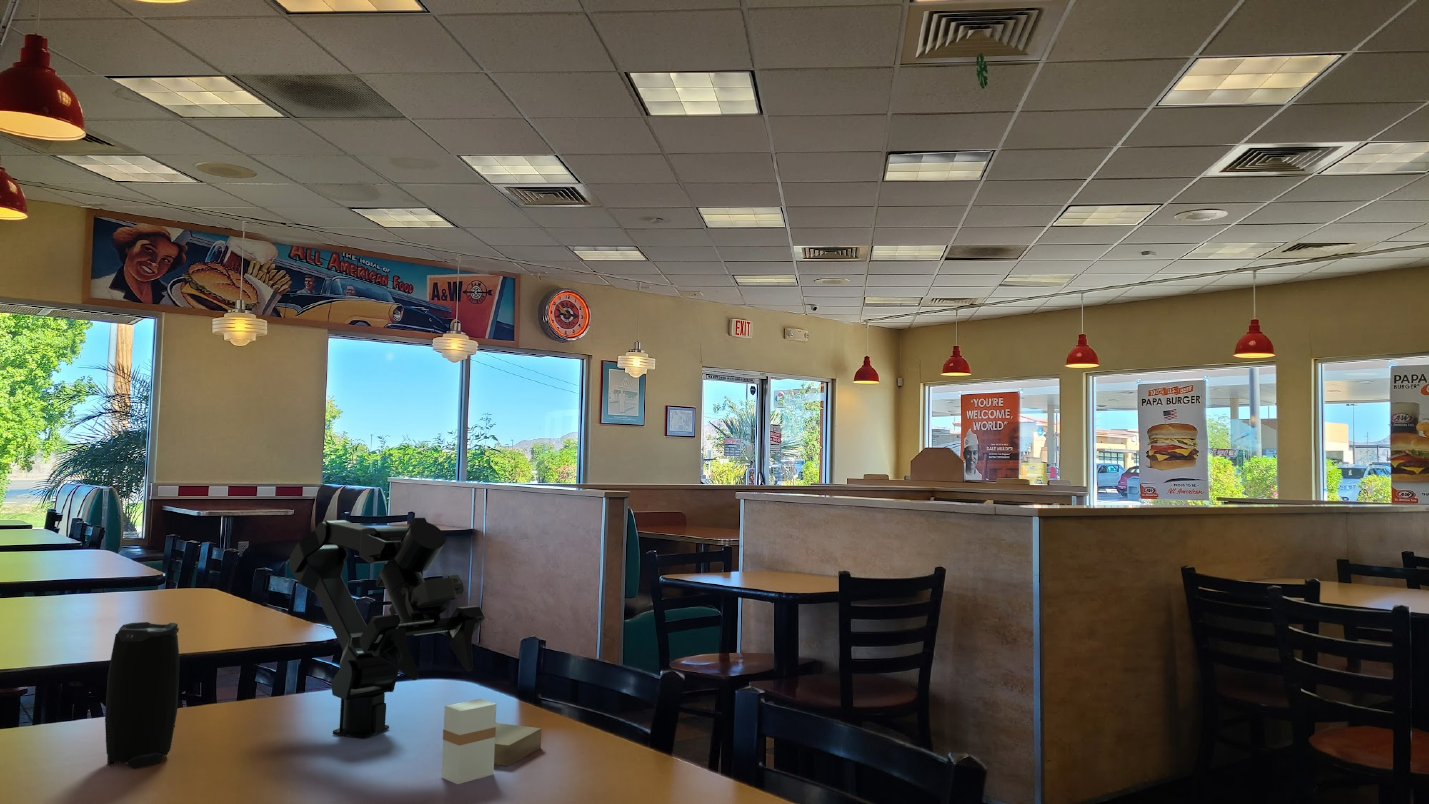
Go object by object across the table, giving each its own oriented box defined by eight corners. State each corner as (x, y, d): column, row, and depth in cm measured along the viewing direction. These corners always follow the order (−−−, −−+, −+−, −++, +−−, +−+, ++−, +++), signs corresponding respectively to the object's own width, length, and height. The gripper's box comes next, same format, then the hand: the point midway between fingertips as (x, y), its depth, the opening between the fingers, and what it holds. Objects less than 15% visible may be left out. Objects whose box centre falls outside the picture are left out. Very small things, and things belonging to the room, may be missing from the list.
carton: (440, 777, 134) (444, 705, 135) (477, 768, 139) (480, 698, 139) (457, 784, 131) (460, 711, 132) (493, 774, 136) (496, 703, 137)
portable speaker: (186, 752, 142) (195, 621, 143) (145, 772, 133) (155, 631, 134) (131, 750, 142) (140, 619, 144) (86, 769, 133) (97, 629, 134)
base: (449, 757, 143) (450, 737, 143) (485, 740, 152) (486, 721, 153) (507, 766, 140) (508, 745, 140) (540, 747, 149) (541, 728, 149)
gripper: (373, 561, 138) (410, 648, 130) (480, 554, 152) (520, 633, 144) (344, 609, 143) (377, 696, 135) (451, 598, 157) (487, 677, 149)
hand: (444, 673), depth 141 cm, fingers open, 9 cm apart
